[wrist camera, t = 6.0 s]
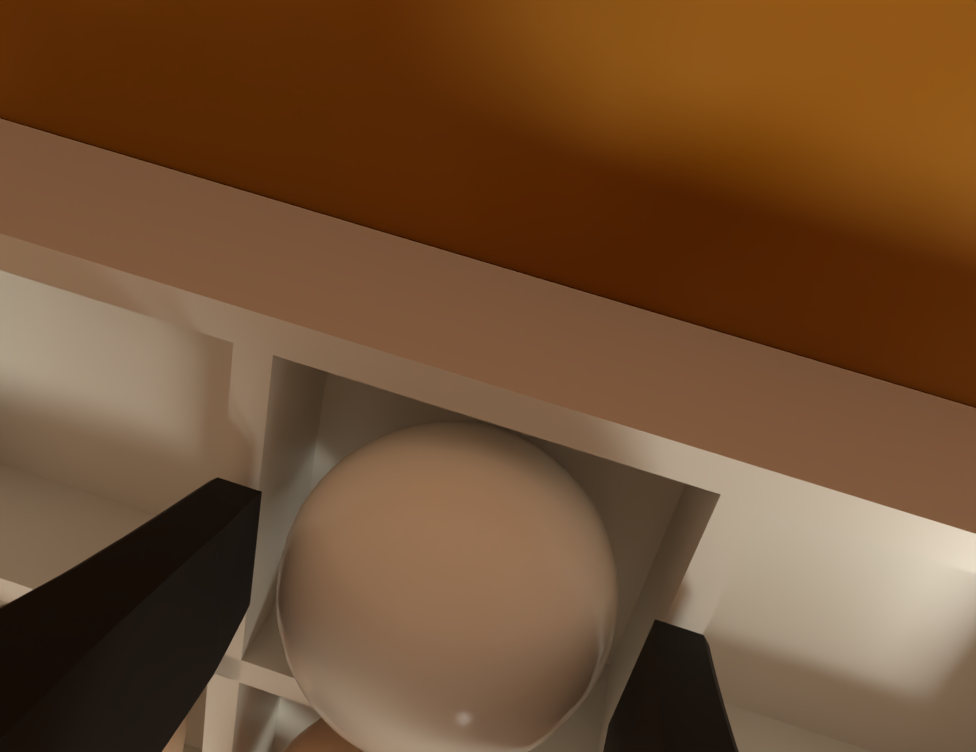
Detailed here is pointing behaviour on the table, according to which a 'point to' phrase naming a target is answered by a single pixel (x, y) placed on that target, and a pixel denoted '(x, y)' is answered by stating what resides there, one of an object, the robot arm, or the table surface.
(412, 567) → the white rounded ball
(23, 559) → the carton
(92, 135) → the table surface
